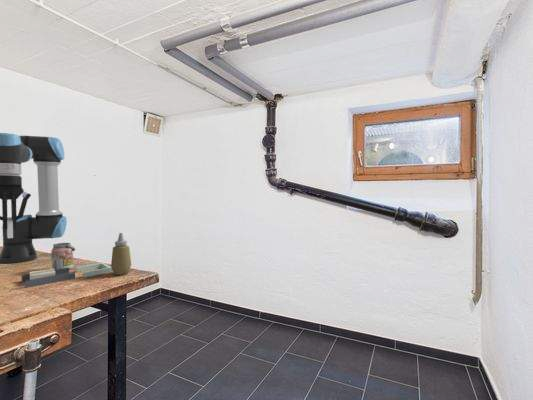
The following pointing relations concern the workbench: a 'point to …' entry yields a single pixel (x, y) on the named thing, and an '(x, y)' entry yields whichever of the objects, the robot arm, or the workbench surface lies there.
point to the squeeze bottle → (121, 257)
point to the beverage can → (62, 256)
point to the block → (42, 273)
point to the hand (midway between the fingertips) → (10, 237)
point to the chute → (48, 278)
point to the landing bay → (94, 272)
